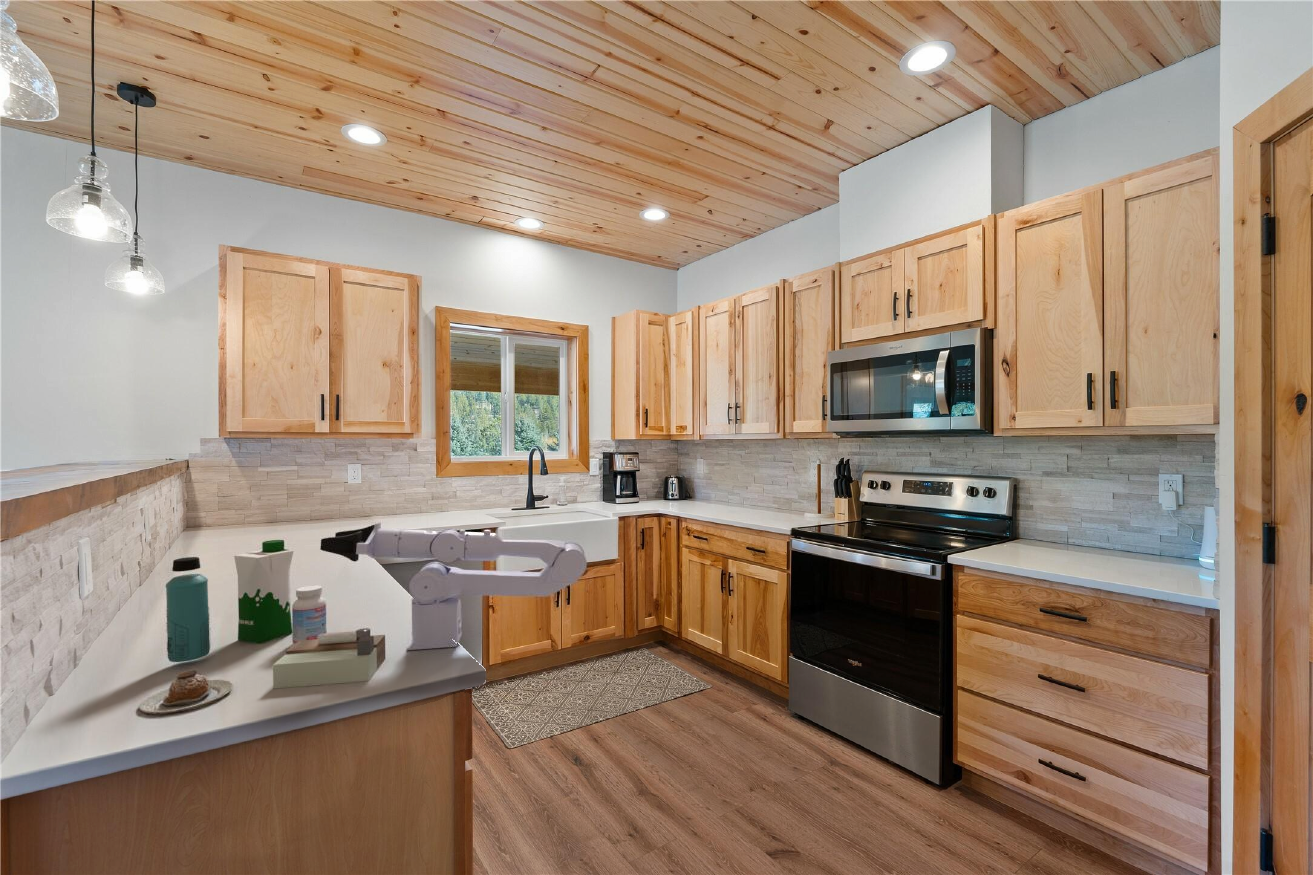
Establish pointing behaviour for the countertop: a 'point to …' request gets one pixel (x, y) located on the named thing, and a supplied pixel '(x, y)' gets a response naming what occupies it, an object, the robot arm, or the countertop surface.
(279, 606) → the milk carton
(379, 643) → the block
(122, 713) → the countertop surface
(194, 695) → the pastry
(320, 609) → the pill bottle
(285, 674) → the pale green long block
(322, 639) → the bar
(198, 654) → the beverage bottle
